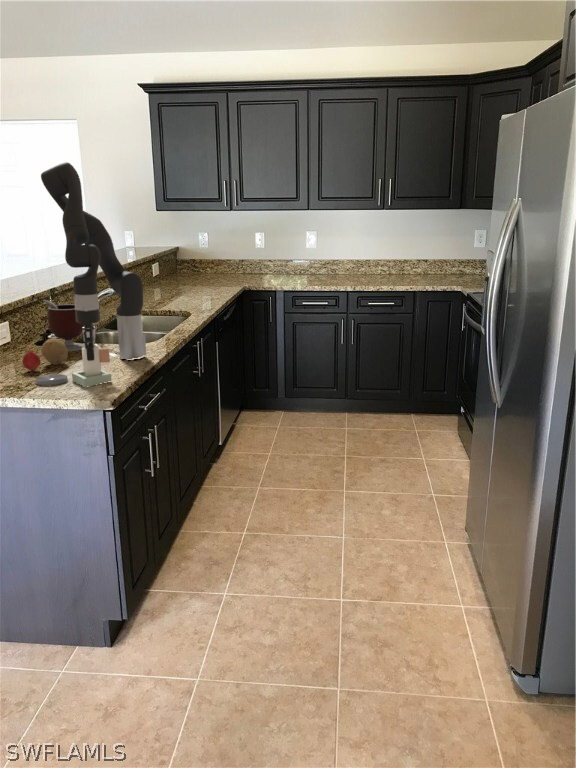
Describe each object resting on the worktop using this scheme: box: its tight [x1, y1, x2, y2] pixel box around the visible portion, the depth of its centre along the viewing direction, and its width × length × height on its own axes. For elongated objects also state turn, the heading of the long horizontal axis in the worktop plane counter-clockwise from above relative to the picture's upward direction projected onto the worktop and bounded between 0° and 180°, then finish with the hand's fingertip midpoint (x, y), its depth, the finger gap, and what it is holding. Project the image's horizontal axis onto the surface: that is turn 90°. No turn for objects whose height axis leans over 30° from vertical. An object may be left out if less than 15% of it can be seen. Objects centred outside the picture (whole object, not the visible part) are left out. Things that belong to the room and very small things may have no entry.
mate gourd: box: [42, 299, 85, 352], centre depth 243 cm, size 16×14×20 cm
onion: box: [22, 349, 41, 372], centre depth 211 cm, size 6×6×8 cm
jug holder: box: [71, 369, 112, 388], centre depth 200 cm, size 9×9×3 cm
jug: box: [81, 345, 111, 377], centre depth 198 cm, size 9×6×10 cm, turn 105°
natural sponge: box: [40, 337, 69, 366], centre depth 220 cm, size 9×9×10 cm
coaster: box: [35, 373, 69, 386], centre depth 200 cm, size 10×10×1 cm
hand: (91, 357), depth 198 cm, fingers closed on jug, 5 cm apart
